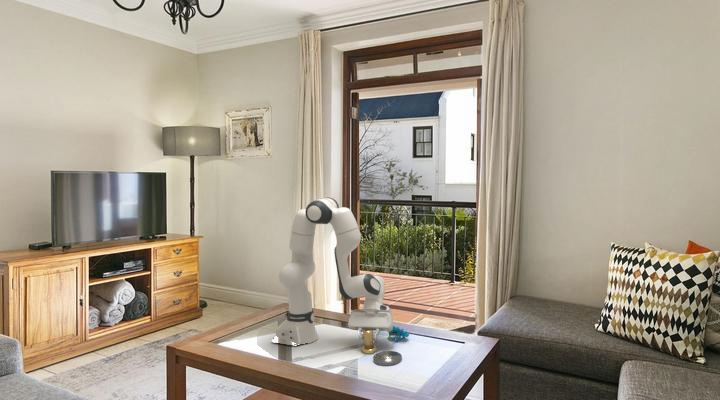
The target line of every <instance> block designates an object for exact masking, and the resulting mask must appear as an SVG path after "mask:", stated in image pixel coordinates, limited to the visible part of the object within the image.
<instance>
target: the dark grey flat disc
mask: <svg viewBox="0 0 720 400" xmlns="http://www.w3.org/2000/svg"><path fill="white" fill-rule="evenodd" d="M402 357H403V356H402V354H401V352H398V351H394V350H383V351H379V352H376V353H374V354H373V357H372V358H373V360H372V361H373V363H374V364H376V365H377V366H383V367H389V366H395V365H398V364H400V363H401V362H402V360H403V358H402Z"/></svg>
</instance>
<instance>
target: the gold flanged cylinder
mask: <svg viewBox="0 0 720 400" xmlns="http://www.w3.org/2000/svg"><path fill="white" fill-rule="evenodd" d="M362 334H363V339H362V340H363V346H362V347H361V352H362V354H364V355H375V354H376V353H377V352H378V351H377V346H376V345H375V341H374V340H373V338H372V337H373V334H374V330H373V329H364V330H363V332H362Z"/></svg>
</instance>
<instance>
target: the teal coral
mask: <svg viewBox="0 0 720 400" xmlns="http://www.w3.org/2000/svg"><path fill="white" fill-rule="evenodd" d="M387 333H388V336H387V337H388V338H387V340H390V338H391V336H393V337H394V336H395V338H394V341H393V342H394V343H397V341H398V338H399V337H402V338H404V339H405V338H409V337H410V334H409V332H408V331H407V330H405V329H404V328H401V329H400V327H399V326H395V325H393V329H392V330H391V331H387Z"/></svg>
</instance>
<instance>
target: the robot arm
mask: <svg viewBox="0 0 720 400" xmlns="http://www.w3.org/2000/svg"><path fill="white" fill-rule="evenodd" d="M328 224H330V225H331V226H332V228H333V232H334V235H335V237H336V238H335V239H336V246H335V247H334V261H335V266H336V272H337V276H338V277H337V278H338V290H339V293H340V295H341V297H343V298H344V299H345V300H348V301H350V300H354V299H356V298H361V297H363V298H365V300H364V301H363V307H362V308H361V309H360V308H359V309H357V308H354V309H352V310H351V311H350V312H349V313H350V314H349V319H348V321H347V326H348V327H349V329H350V330H358V332H359V339H360V340H364V339H363V330H364V329H373V331H375V333H373V337H372V338H373V340H375V341H376V340H377V339H378V336H379V335H380V334H381V331H385V332H388V331H391V330H392V329H393V326H394V321H393V317H392V316H393V312H392V310H391V308H390V306H388V305H384V303H383V302H384V298H385V292H386V281H385V280H384V278H383V277H382V276H381V275H380V276H379V275H378V274H377V275H376V274H375V275H374V274H373V275H372V274H370V273H364V274H359V275H354V276H351V274H350V269H349V263H348V258H349V256H350V254H351V253H352V252H353V251H354V250H356V249H357V248H358V246H359V245H360V242H361V239H362V235H361V234H362V233H361V232H360V228H359V225H358V222H357V220H356V218H355V216H354V214H353V212H352V210H351V209H350V208H348V207H345V206H344V207H343V206H342V207H340V205H339V203H338V201H336V199H334V198H332V197H328V196H327V197H321V198H318V199H316V200H313V201H310V202H309V203H308V205H307V206H306V207H305V208H301V209H298V210H297V211H296V212H295V215H294V218H293V221H292V226H291V232H290V237H289V238H290V239H289V249H290V250H291V261H290V262H288V263H286V264H285V265H284V266H283V267H282V268H281V269H280V270H279V271H278V272H279V273H278V281H279V283H280V284H281V285H283V287H284V289H285V293H286V296H287V300H288V308H289V309H288V311H287V312H286V313H285V314H284V317H286V318H285V319H284V321H282V322H281V323H280V324H279V325H278V326H277V327H276V330H275V335H276V336H277V337H279V338H282V339H285V340H289V341H292V342H294V343H296V344H294V345H298V344H304V345H306V344H305V343H308V344H311V343H313V342H315V341H317V340H318V339H317V338H319V335H318V333H317V330H316V325H315V312H314V308H313V301H312V293H311V291H309V289H308V287H307V283H306V282H307V281H306V280H308V279H309V278H310V277H311V276H312V275H313V273H314V272H315V269H316V264H315V261H314V254H313V253H314V252H313V251H314V250H313V249H314V241H315V234H316V228H317V225H328ZM316 339H317V340H316Z"/></svg>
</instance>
